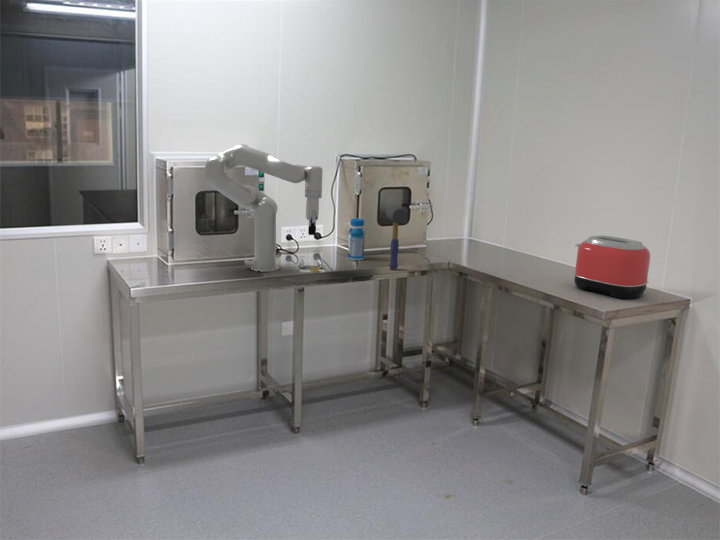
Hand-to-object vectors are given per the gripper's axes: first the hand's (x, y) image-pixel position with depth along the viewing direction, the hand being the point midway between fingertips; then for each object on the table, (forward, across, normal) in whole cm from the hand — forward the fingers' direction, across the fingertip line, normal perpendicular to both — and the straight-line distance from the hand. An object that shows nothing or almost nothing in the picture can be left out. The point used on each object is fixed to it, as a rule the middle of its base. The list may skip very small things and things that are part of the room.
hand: (312, 234), depth 297 cm
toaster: (+16, +40, +124) cm, 131 cm away
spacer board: (+17, 0, 0) cm, 17 cm away
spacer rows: (+16, -4, 0) cm, 17 cm away
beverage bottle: (+17, -26, +25) cm, 40 cm away
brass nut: (+16, +4, +1) cm, 17 cm away
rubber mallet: (+17, -2, +39) cm, 43 cm away
